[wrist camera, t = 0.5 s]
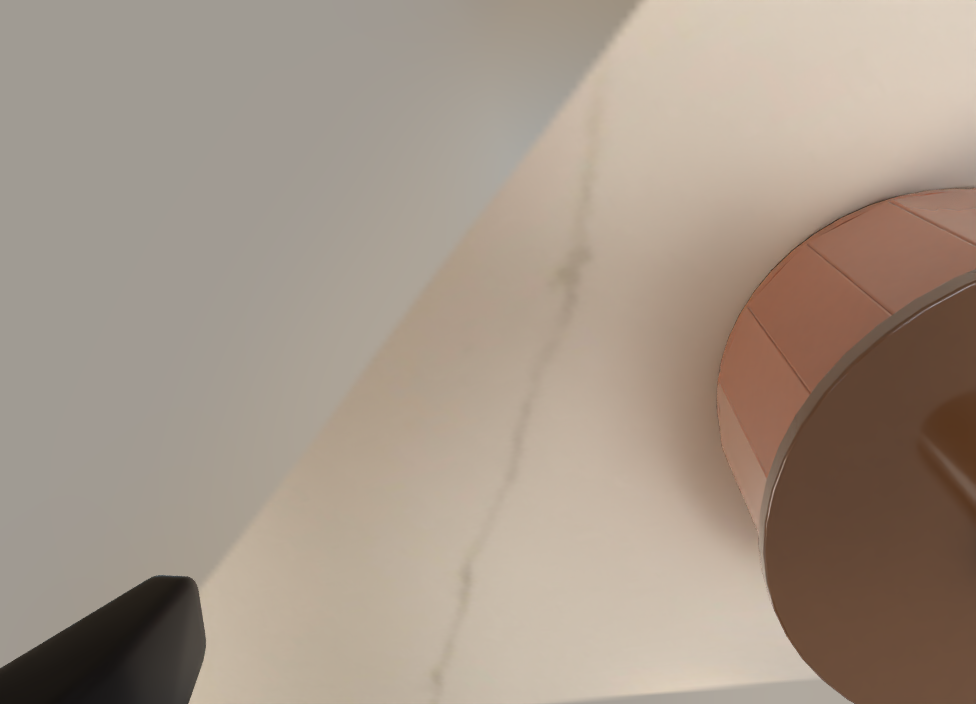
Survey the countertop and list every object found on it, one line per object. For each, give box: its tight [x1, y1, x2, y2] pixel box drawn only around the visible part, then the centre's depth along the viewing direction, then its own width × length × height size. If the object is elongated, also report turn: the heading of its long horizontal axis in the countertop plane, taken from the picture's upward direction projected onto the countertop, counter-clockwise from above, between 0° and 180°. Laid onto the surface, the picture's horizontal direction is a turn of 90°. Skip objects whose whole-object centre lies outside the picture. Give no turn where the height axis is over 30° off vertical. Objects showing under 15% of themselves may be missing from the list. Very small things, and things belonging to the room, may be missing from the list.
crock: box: [717, 188, 976, 534], centre depth 19 cm, size 11×11×6 cm
